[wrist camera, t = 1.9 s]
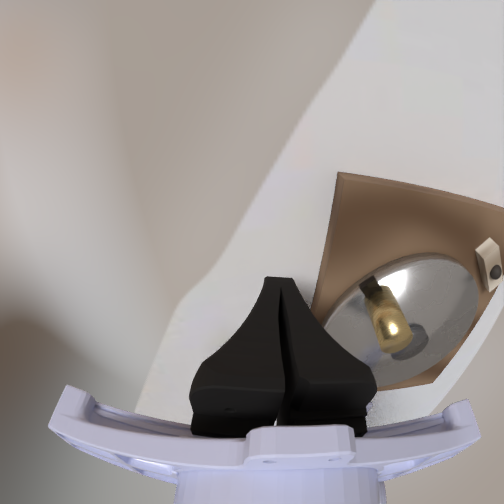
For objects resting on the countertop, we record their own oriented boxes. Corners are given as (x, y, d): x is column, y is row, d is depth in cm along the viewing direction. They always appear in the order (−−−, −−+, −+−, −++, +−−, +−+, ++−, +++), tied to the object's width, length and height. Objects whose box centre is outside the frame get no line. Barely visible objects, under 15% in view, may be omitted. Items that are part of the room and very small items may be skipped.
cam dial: (478, 321, 17) (500, 359, 13) (362, 391, 22) (370, 432, 18) (445, 204, 13) (493, 245, 9) (274, 321, 18) (274, 381, 14)
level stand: (428, 372, 24) (437, 396, 21) (290, 382, 24) (291, 412, 22) (515, 211, 14) (540, 231, 11) (337, 171, 14) (355, 191, 11)
